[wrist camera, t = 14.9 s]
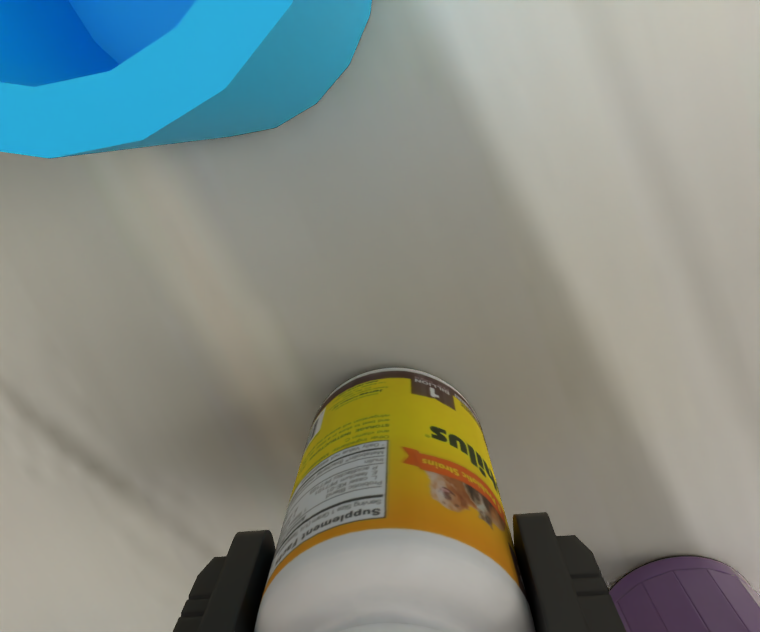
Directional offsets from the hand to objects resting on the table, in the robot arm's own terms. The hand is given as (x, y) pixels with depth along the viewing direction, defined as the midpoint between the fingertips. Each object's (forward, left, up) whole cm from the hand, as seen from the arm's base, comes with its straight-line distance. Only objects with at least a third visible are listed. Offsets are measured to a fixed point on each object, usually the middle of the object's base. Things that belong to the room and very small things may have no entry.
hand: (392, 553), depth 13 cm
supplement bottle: (0, 0, -6) cm, 6 cm away
